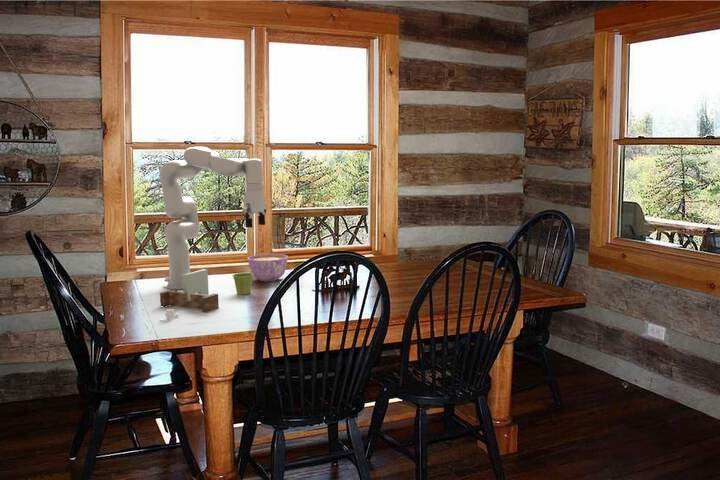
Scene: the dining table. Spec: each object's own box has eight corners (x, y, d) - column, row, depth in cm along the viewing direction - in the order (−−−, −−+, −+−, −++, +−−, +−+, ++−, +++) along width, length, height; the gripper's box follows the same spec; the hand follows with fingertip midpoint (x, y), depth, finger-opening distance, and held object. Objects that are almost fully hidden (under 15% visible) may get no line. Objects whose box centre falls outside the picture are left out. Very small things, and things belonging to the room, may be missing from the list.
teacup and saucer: (174, 316, 276) (173, 306, 276) (186, 319, 271) (185, 309, 271) (155, 320, 270) (154, 310, 269) (167, 323, 265) (167, 313, 264)
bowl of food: (286, 284, 333) (285, 260, 332) (244, 284, 334) (243, 260, 332) (290, 276, 353) (290, 253, 352) (251, 276, 354) (250, 254, 352)
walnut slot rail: (160, 306, 291) (159, 292, 290) (173, 302, 298) (172, 289, 297) (206, 312, 280) (205, 297, 279) (218, 308, 287) (218, 293, 286)
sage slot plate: (183, 301, 299) (182, 274, 297) (204, 295, 311) (203, 269, 310) (187, 302, 298) (186, 275, 296) (208, 295, 310) (207, 269, 309)
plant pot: (249, 296, 308) (249, 277, 307) (230, 295, 310) (229, 276, 309) (257, 291, 318) (256, 273, 316) (237, 291, 319) (237, 272, 318)
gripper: (258, 185, 313) (259, 223, 315) (235, 188, 297) (236, 228, 300) (272, 186, 309) (273, 224, 312) (249, 188, 294) (251, 228, 297)
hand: (255, 226), depth 306 cm, fingers open, 9 cm apart
